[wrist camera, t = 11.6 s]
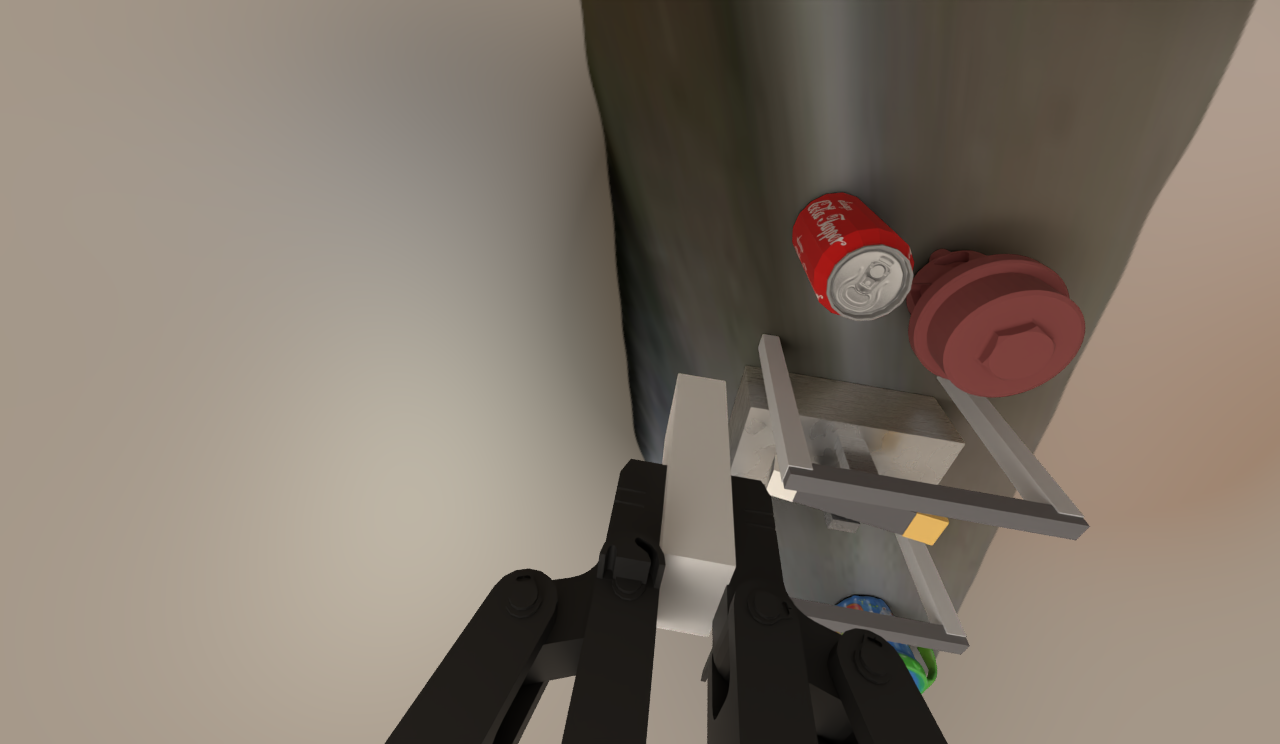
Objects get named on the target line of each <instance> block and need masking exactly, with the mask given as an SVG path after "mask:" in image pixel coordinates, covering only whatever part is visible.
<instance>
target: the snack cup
mask: <svg viewBox="0 0 1280 744" xmlns="http://www.w3.org/2000/svg"><path fill="white" fill-rule="evenodd" d="M835 606H840V607H846V608H851V609H857V610H862V611H868V612H873V613H878V614H884V615H889V616H893V614H892V612H891V610H890V609H889V607H888V606H887V605H886V604H885V602H884V601H883V600H881V599H877V598H875V597H870V596H855V595H854V596H852V597H850V598H847V599H845V600H843V601H842V602H840V603H839V604H837V605H835ZM835 632H836V631H835ZM837 633H839V634H841V635H843V633H842V632H837ZM887 642H888V643H890V644H891V645H892V646H893V647H894V648H895V650H896V651H897V652H898V654H899V655H900V657H901V658H902V660H903V661H904V663H905V665H906V667H907V669H908V670H909V672H910V674H911V676H912V678H913V680H914V682H915V684H916V685H917V687H918V689H919V691H920V693H921V694H922V693H923V692H924V691H925V690H926V689H927V688H928V687H930V685H932V683H933V682H934V681H935V679H936V677H937V665H936V660H935V656H934V652H933V649H928V648H923V647H917V649H918V650H919V652H920V654H921V656H922V658H923V660H924V662H925V663H926V665H927V667H928V669H929V671H928V675H927V677H926V674H925V672H924V669H923V668H922V666H921V665H920V663H919V662H918V661H917V660H916V659H915V658H914V655H913V653H912V651H911V649H910V647H909V645H906V644H901V643H896V642H890V641H887Z"/></svg>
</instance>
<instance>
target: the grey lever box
mask: <svg viewBox="0 0 1280 744" xmlns="http://www.w3.org/2000/svg"><path fill="white" fill-rule="evenodd" d="M788 374H789V377H790V381H791V385H792V389H793V393H794V397H795V401H796V405H797V409H798V412H799V416H800V420H801V424H802V428H803V432H804V436H805V440H806V444H807V448H808V451H809V455H810V459H811V463H815V464H821V465H826V466H832V467H838V468H844V469H849V470H855V471H861V472H866V473H872V474H878V475H884V476H889V477H895V478H901V479H907V480H912V481H918V482H924V483H929V484H935V485H938V483H939V482H940V481H941V479H942V478H943V476H944V475H945V473H946V472H947V470H948V469H949V467H950V466H951V464H952V463H953V461H954V460H955V458H956V457H957V455H958V454H959V453H960V451H961V450H962V448H963V447H964V445H965V442H964V441H963V439H962V438H961V436H960V435H959V433H958V432H957V430H956V429H955V427H954V426H953V424H952V423H951V421H950V420H949V419H948V417H947V416H946V414H945V413H944V411H943V410H942V408H941V407H940V405H939V404H938V402H937V401H936V399H935V398H934V397H931V396H925V395H919V394H913V393H907V392H901V391H895V390H890V389H884V388H878V387H872V386H866V385H860V384H854V383H848V382H842V381H836V380H830V379H824V378H818V377H813V376H807V375H801V374H795V373H789V372H788ZM728 431H729V449H730V467H731V475H732V476H738V477H743V478H749V479H755V480H760V481H762V483H763V484H766V478H767V475H768V472H769V470H770V467H771V465H772V462H773V459H774V457H775V454H776V455H777V452H776V447H775V441H774V435H773V429H772V424H771V418H770V412H769V407H768V401H767V395H766V389H765V384H764V378H763V372H762V368H759V367H753V366H747V365H746V366H745V369H744V373H743V376H742V379H741V383H740V386H739V390H738V393H737V396H736V400H735V403H734V406H733V410H732V413H731V417H730V420H729V423H728ZM823 512H824V516H825V519H826V523H827V527H828V528H829V529H835V530H841V531H846V532H852V533H855V532H856V531H857V529H858V527H859V526H860V522H858V521H855V520H852V519H848V518H845V517H842V516H839V515H835V514H832V513H829V512H826V511H823Z"/></svg>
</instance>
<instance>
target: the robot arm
mask: <svg viewBox="0 0 1280 744" xmlns="http://www.w3.org/2000/svg"><path fill="white" fill-rule="evenodd" d="M656 627H657V628H662V629H667V630H673V631H678V632H683V633H689V634H694V635H699V636H705V637H708V636H709V634H710V631H711V629H712V631H713V632H712V633H713V634H712V635H713V647H712V650H711V652H710V655H709V657H708V659H707V662H706V664H705V667H704V669H703V673H702V678H701V681H704V682H705V681H706V680H707V678H708V714H707V717H708V720H707V721H708V722H707V727H708V729H707V732H708V733H707V735H708V736H707V744H948V743H947V742H946V740H945V738H944V736H943V734H942V732H941V730H940V728H939V727H938V725H937V723H936V721H935V719H934V717H933V716H932V713H931V712H930V710H929V708H928V706H927V704H926V702H925V700H924V699H923V697H922V695H921V693H920V691H919V689H918V687H917V685H916V684H915V682H914V680H913V678H912V676H911V674H910V672H909V670H908V669H907V667H906V665H905V663H904V661H903V660H902V658H901V657H900V655H899V654H898V652H897V651H896V650H895V648H894V647H893V646H892V645H891V644H890V643H888V642H887V641H886V640H885V639H884V638H883V637H881V636H879V635H877V634H875V633H873V632H871V631H869V630H866V629H859V628H854V629H851V630H848V631H845V632H844V633H843V635H841V634H839V633H837V632H835V631H833V630H831V629H829V628H827V627H825V626H823V625H821V624H819V623H817V622H815V621H814V620H812V619H810V618H809V617H807V616H806V615H804V614H803V613H802V612H801V611H800V610H799V609H798V608H797V607H796V606H795V605H794V602H793V601H792V600H791V598H790V597H789V596H788V594H787V592H786V590H785V586H784V582H783V576H782V569H781V562H780V556H779V549H778V542H777V535H776V531H775V521H774V517H773V507H772V500H771V496H770V494H769V493H768V491H767V489H766V488H765V486H764V484H763V483H762V481H760V480H755V479H749V478H743V477H738V476H732V475H731V467H730V449H729V431H728V413H727V395H726V381H722V380H716V379H710V378H704V377H698V376H692V375H686V374H680V373H678V378H677V383H676V387H675V392H674V397H673V402H672V407H671V412H670V417H669V422H668V427H667V432H666V436H665V444H664V453H663V462H662V464H657V463H652V462H646V461H640V460H635V459H631V460H630V461H629V462H628V463H627V464H626V466H625V467H624V468H623V469H622V470H621V472H620V477H619V481H618V486H617V491H616V495H615V500H614V505H613V510H612V514H611V519H610V524H609V528H608V533H607V538H606V542H605V543H604V545H603V547H602V549H601V552H600V555H599V561H598V563H597V564H596V565H595V566H594V567H593V568H592V569H591V570H589V571H588V572H586V573H584V574H582V575H579V576H575V577H571V578H564V579H557V580H551V578H550V577H548V576H547V575H546V574H544V573H543V572H541V571H537V570H532V569H522V570H516V571H514V572H512V573H510V574H508V575H506V576H504V577H503V578H502V579H501V580H500V581H499V582H498V583H497V584H496V585H495V586H494V588H493V589H492V590H491V592H490V593H489V595H488V596H487V597H486V599H485V600H484V602H483V603H482V605H481V606H480V607H479V609H478V610H477V612H476V613H475V615H474V616H473V618H472V619H471V621H470V622H469V623H468V625H467V626H466V628H465V629H464V631H463V632H462V633H461V635H460V636H459V638H458V639H457V640H456V642H455V643H454V645H453V646H452V648H451V649H450V651H449V652H448V653H447V655H446V656H445V658H444V659H443V661H442V662H441V664H440V665H439V666H438V668H437V669H436V671H435V672H434V673H433V675H432V676H431V678H430V679H429V681H428V682H427V684H426V685H425V687H424V688H423V689H422V691H421V692H420V694H419V695H418V697H417V698H416V699H415V701H414V702H413V704H412V705H411V706H410V708H409V709H408V711H407V712H406V714H405V715H404V717H403V718H402V719H401V721H400V722H399V724H398V725H397V727H396V728H395V730H394V731H393V732H392V734H391V735H390V737H389V738H388V740H387V741H386V743H385V744H518V743H519V741H520V738H521V737H522V734H523V732H524V730H525V728H526V726H527V724H528V722H529V720H530V718H531V716H532V714H533V712H534V710H535V708H536V706H537V704H538V702H539V700H540V698H541V696H542V694H543V692H544V690H545V688H546V686H547V684H548V682H549V680H554V679H559V678H564V677H569V676H575V675H576V677H575V682H574V687H573V692H572V696H571V702H570V706H569V711H568V715H567V720H566V725H565V730H564V734H563V739H562V744H646V737H647V726H648V715H649V704H650V691H651V680H652V670H653V658H654V647H655V636H656Z"/></svg>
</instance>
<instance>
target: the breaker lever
mask: <svg viewBox="0 0 1280 744" xmlns="http://www.w3.org/2000/svg"><path fill="white" fill-rule="evenodd" d="M765 488H766V489H767V491H768V493H769V494H770V495H772V496H775V497H778V498H781V499H784V500H788V501H791V502H792V501H794V502H797V503H800V504H803V505H806V506H810V507H813V508H816V509H819V510H823V511H826V512H829V513H832V514H835V515H839V516H842V517H845V518H848V519H852V520H855V521H858V522H861V523H864V524H868V525H871V526H874V527H877V528H880V529H884V530H887V531H890V532H893V533H897V534H900V535H902V536H903V537H907V538H910V539H913V540H916V541H919V542H923V543H926V544H929V545H933V544H934V543H935V541H936V540H937V538H938V537H939V536H940V534H941V533H942V532H943V530H944V529H945V528H946V526H947V525H948V524H949V521H948V518H947V517H941V516H936V515H930V514H924V513H919V512H913V511H907V510H902V509H896V508H890V507H885V506H879V505H873V504H868V503H862V502H856V501H851V500H845V499H839V498H834V497H828V496H822V495H817V494H811V493H805V492H800V491H794V490H788V489H784V485H783V482H782V481H781V475H780V469H779V464H778V458H777V455H776V454H775V457H774V459H773V462H772V465H771V467H770V470H769V472H768V475H767V478H766V487H765Z"/></svg>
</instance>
